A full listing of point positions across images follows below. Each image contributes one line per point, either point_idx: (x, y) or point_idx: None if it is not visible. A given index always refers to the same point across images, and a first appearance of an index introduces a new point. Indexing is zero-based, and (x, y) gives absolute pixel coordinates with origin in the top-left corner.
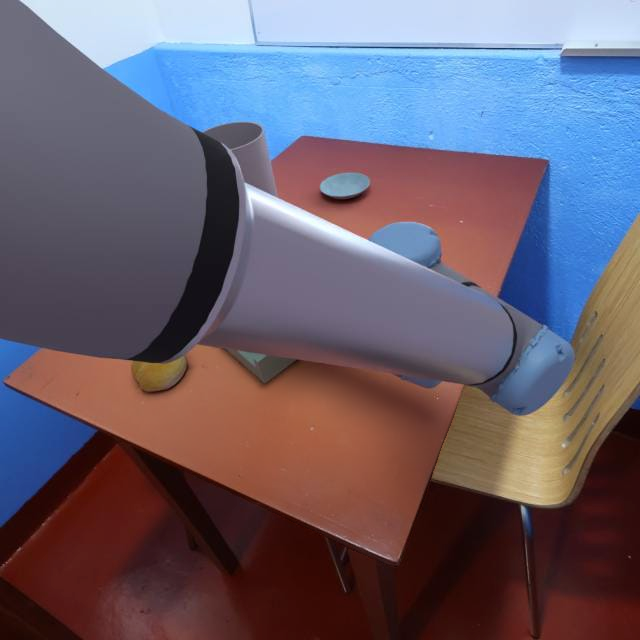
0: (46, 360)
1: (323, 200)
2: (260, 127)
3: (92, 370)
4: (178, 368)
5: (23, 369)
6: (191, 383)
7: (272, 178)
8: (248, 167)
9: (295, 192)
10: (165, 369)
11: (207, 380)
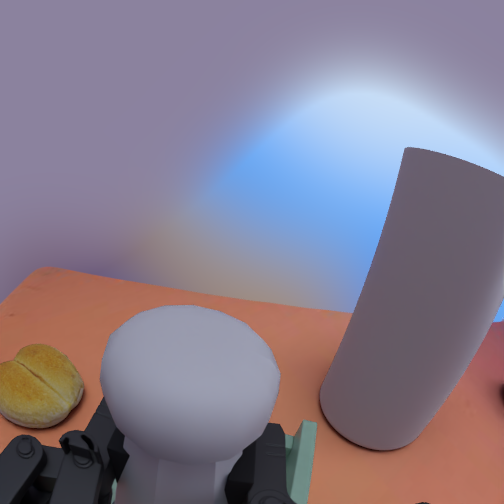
0: (67, 277)
1: (499, 397)
2: None
3: (47, 315)
4: (18, 412)
5: (56, 267)
6: None
7: (501, 299)
8: (484, 228)
9: (476, 363)
10: (4, 390)
11: None
